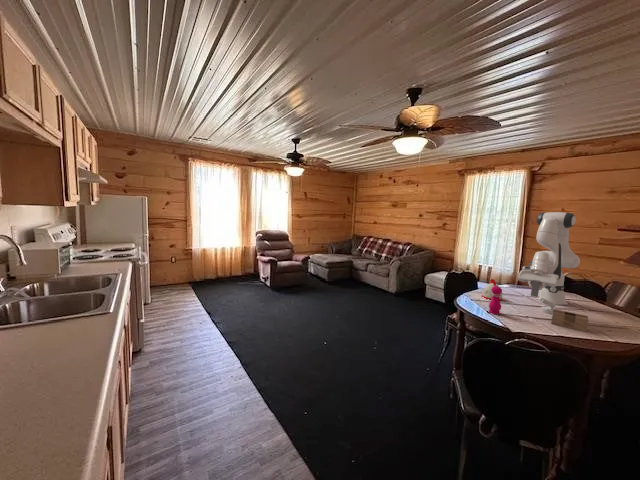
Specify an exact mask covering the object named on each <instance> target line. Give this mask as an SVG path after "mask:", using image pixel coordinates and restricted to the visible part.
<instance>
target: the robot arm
mask: <svg viewBox="0 0 640 480" xmlns="http://www.w3.org/2000/svg"><path fill="white" fill-rule="evenodd" d="M576 219H577V218H576V215H575V214H574V213H571V212H562V211H561V212H560V211H555V212H554V211H552V212H546V211H543V212H540V213H539V214H537V216H536V225H538V229H537V232H536V238H535V239H536V242H537V243H538V244H539V245H540V246H542V247H543V248H546V249H548V250H540V251H536V252H535V254H534V256H533V257H532V260H530V261H529V263H528V265H526V266H525V265H523V266H522V269H521V270H520V271H519V273H518V277H517V279H518V281H519V282H522V283H527V284H528V285H529V286H528V289H532V282H533V280H539V281H540V285H539V295H538V297H536V300H538V301H540V300H541V299H542V298H544V299H546V300H548V301H550V302H552V303H554V304H555V305H558V306H568V305H569V304H568V302H567V301H566V294H567V293H565V292H564V289H565V285H564V282H565V275H564V273H563V271H562V268H564V269H575V268H577V267H579V265H580V263H581V259H580V257H579V256H578V255H577V254H575V253H574V251H572V248H571V247H570V244H569V241H570V240H569V239H570V237H569V235H570V228H573V226H574V225H575V223H576V221H577V220H576Z"/></svg>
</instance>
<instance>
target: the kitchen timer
mask: <svg viewBox="0 0 640 480" xmlns="http://www.w3.org/2000/svg"><path fill="white" fill-rule="evenodd" d="M496 284H497V282H496V280H495V279H493V278H490V281H489V284H487V285H486V286H485V287H483V288H482V291H481V298H482V297H484V298H486V299H485V300H487V299H489V300H488V301H491V300H492V293H493V292H492V291H491V289H492V287H494V286H496ZM500 294H501V295H500V298H499V301H500V302H502V301H503V292H502V293H500ZM484 298H483V299H484Z"/></svg>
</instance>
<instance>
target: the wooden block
mask: <svg viewBox="0 0 640 480" xmlns="http://www.w3.org/2000/svg"><path fill="white" fill-rule="evenodd" d="M556 309H557V308H555V309H553V314H552V317H551V323H550V324H551V325H555V326H559V327H563V328H567V329H573V330H576V331H580V332H585V333H588V331H587V330H588V325H589V315H585V314H581V313H575V312H570V311H566V310H565V311H564V310H560V309H557V310H556Z"/></svg>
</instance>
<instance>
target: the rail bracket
mask: <svg viewBox="0 0 640 480" xmlns="http://www.w3.org/2000/svg"><path fill="white" fill-rule="evenodd" d="M531 285H532V288H531V291H530V296H531V297H536V298H537V297H539V294H540V290H539V286H541V285H540V281H539V280H533V282H532V283H531Z"/></svg>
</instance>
